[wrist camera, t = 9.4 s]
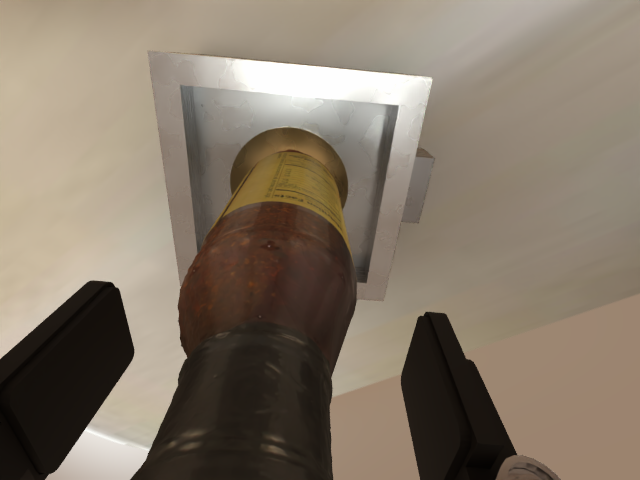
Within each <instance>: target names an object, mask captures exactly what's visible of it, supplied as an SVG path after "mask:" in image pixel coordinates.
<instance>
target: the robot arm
mask: <svg viewBox="0 0 640 480" xmlns="http://www.w3.org/2000/svg"><path fill="white" fill-rule="evenodd" d="M133 356H134V346H133V342H132V338H131V334H130V330H129V326H128V322H127V318H126V314H125V310H124V306H123V302H122V298H121V294H120V291H119V289H118V288H116V287H115V286H114V284H113V283H111V282H103V281H89V282H87V283H86V284H85V285H84V286H83V287H82V288H80V289H79V290H78V291H77V292H76V293H75V294H74V295H72V296H71V297H70V298H69V299H68V300H67V301H66V302H65V303H63V304H62V305H61V306H60V307H59V308H58V309H57V310H55V311H54V312H53V313H52V314H51V315H50V316H49V317H48V318H46V319H45V320H44V321H43V322H42V323H41V324H40V325H38V326H37V327H36V328H35V329H34V330H33V331H32V332H31V333H29V334H28V335H27V336H26V337H25V338H24V339H23V340H21V341H20V342H19V343H18V344H17V345H16V346H15V347H14V348H12V349H11V350H10V351H9V352H8V353H7V354H6V355H4V356H3V357H2V358H1V359H0V480H45V479H46V477H47V476H48V475H49V474H51V473H53V472H55V471H56V470H57V469H58V468H59V466H60V465H61V463H62V462H63V461H64V459H65V458H66V456H67V454H68V453H69V452H70V450H71V449H72V447H73V446H74V445H75V443H76V442H77V440H78V439H79V437H80V436H81V434H82V433H83V431H84V430H85V428H86V427H87V426H88V424H89V423H90V421H91V420H92V418H93V417H94V415H95V414H96V412H97V411H98V410H99V408H100V407H101V405H102V404H103V402H104V401H105V399H106V398H107V396H108V395H109V393H110V392H111V391H112V389H113V388H114V386H115V385H116V383H117V382H118V380H119V379H120V377H121V376H122V374H123V373H124V372H125V370H126V369H127V367H128V366H129V364H130V363H131V361H132V359H133ZM401 386H402V392H403V397H404V402H405V407H406V411H407V416H408V422H409V427H410V432H411V436H412V441H413V446H414V451H415V456H416V461H417V466H418V470H419V476H420V480H561V479H560V478H559V477H558V476H557V475H556V474H555V473H554V472H553V471H552V470H550V469H549V468H548V467H547V466H545V465H544V464H542V463H540V462H539V461H537V460H535V459H533V458H530V457H527V456H523V455H517V453H516V451H515V449H514V447H513V445H512V443H511V440H510V439H509V436H508V434H507V432H506V430H505V428H504V425H503V423H502V421H501V419H500V417H499V415H498V412H497V410H496V408H495V406H494V404H493V402H492V399H491V397H490V395H489V393H488V391H487V389H486V387H485V384H484V382H483V380H482V378H481V376H480V374H479V371H478V370H477V367H476V366H475V364H474V362H472V361H471V360H468V359H466V358H465V355H464V353H463V351H462V349H461V346H460V344H459V342H458V340H457V337H456V335H455V333H454V330H453V328H452V326H451V324H450V321H449V319H448V317H447V315H446V314H444V313H434V312H426V313H425V314H424V316H419V317H418V320H417V323H416V327H415V330H414V333H413V337H412V340H411V344H410V347H409V351H408V354H407V357H406V361H405V364H404V368H403V371H402V375H401Z"/></svg>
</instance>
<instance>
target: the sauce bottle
mask: <svg viewBox="0 0 640 480" xmlns="http://www.w3.org/2000/svg"><path fill="white" fill-rule="evenodd" d="M356 300H357V279H356V273H355V267H354V263H353V259H352V254H351V250H350V245H349V240H348V236H347V231H346V226H345V221H344V216H343V212H342V207H341V201H340V197H339V192H338V188H337V185H336V182H335V180H334V178H333V177H332V175H331V174H330V172H329V171H328V169H327V168H326V167H325V166H324V165H323V164H322V163H321V162H320V161H318V160H317V159H315V158H313V157H312V156H310V155H308V154H304V153H302V152H299V151H297V150H291V149H288V150H286V151H280V152H277V153H274V154H271V155H269V156H267V157H265V158H263V159H262V160H260V161H258V162H257V164H256V165H255V166H254V167H252V168H251V169H250V171H249V172H248V173H247V175H246V176H245V177H244V179H243V180H242V182H241V183H240V185H239V186H238V188H237V190H236V191H235V192H234V194H233V195H232V197H231V199H230V200H229V202H228V203H227V205H226V206H225V208H224V210H223V211H222V212H221V214H220V215H219V217H218V218H217V220H216V221H215V223H214V225H213V226H212V228H211V229H210V231H209V232H208V234H207V236H206V237H205V239H204V241H203V243H202V246H201V249H200V252H199V253H198V254H197V255H196V256H195V259H194V261H193V263H192V264H191V266H190V267H189V268H188V272H187V274H186V276H185V278H184V281H183V283H182V286H181V289H180V297H179V302H178V310H179V320H178V321H179V326H180V340H181V346H182V347H183V349H184V352H185V353H186V355H187V359H186V360H185V362H184V364H183V366H182V368H181V371H180V373H179V378H178V387H177V389H176V391H175V393H174V396H173V399H172V402H171V404H170V406H169V408H168V411H167V413H166V415H165V418H164V420H163V422H162V424H161V426H160V428H159V431H158V434H157V436H156V438H155V440H154V442H153V444H152V447H151V449H150V451H149V453H148V456H147V459H146V461H145V462H144V463H143V465H142V466H141V468H140V469H139V470H138V471H137V472H136V473H135V474H134V476H133V477H132V478H131V479H130V480H333V473H332V456H331V432H330V428H331V427H330V410H329V409H330V403H331V398H332V380H331V377H332V374H333V371H334V368H335V365H336V362H337V359H338V356H339V353H340V350H341V347H342V345H343V342H344V339H345V336H346V333H347V330H348V327H349V324H350V321H351V319H352V317H353V314H354V311H355V306H356Z"/></svg>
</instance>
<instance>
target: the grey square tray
mask: <svg viewBox="0 0 640 480" xmlns="http://www.w3.org/2000/svg"><path fill="white" fill-rule="evenodd" d="M148 58H149V66H150V73H151V80H152V87H153V94H154V101H155V108H156V116H157V123H158V130H159V137H160V144H161V151H162V159H163V166H164V173H165V180H166V187H167V194H168V201H169V209H170V216H171V223H172V230H173V237H174V244H175V251H176V259H177V266H178V273H179V280H180V286H182V283H183V281H184V278H185V276H186V274H187V272H188V268H189V267H190V266H191V264H192V263H193V261H194V259H195V256H196V255H197V254H198V253H199V252H200V249H201V246H202V243H203V241H204V239H205V237H206V236H207V234H208V232H209V231H210V229H211V228H212V226H213V225H214V223H215V221H216V220H217V218H218V217H219V215H220V214H221V212H222V211H223V210H224V208H225V206H226V205H227V203H228V202H229V200H230V199H231V197H232V195H233V194H234V192H235V191H236V190H237V188H238V186H239V185H240V183H241V182H242V180H243V179H244V177H245V176H246V175H247V173H248V172H249V171H250V169H251V168H252V167H254V166H255V165H256V164H257V162H258V161H260V160H262V159H263V158H265V157H267V156H269V155H271V154H274V153H277V152H280V151H286V150H288V149H291V150H297V151H299V152H302V153H304V154H308V155H310V156H312V157H313V158H315V159H317V160H318V161H320V162H321V163H322V164H323V165H324V166H325V167H326V168H327V169H328V171H329V172H330V174H331V175H332V177H333V178H334V180H335V182H336V185H337V188H338V192H339V197H340V201H341V207H342V212H343V216H344V221H345V226H346V231H347V236H348V240H349V245H350V250H351V254H352V259H353V263H354V267H355V273H356V279H357V299H361V300H375V301H384V297H385V292H386V288H387V283H388V279H389V274H390V270H391V265H392V260H393V256H394V251H395V247H396V242H397V238H398V233H399V229H400V224H401V222H410V223H419V220H420V216H421V212H422V208H423V204H424V200H425V196H426V191H427V187H428V183H429V179H430V175H431V171H432V167H433V163H434V159H435V158H434V157H432V156H431V155H430V154H429V153H428V152H427V151H425V150H424V149H421V148H417V147H418V142H419V138H420V133H421V129H422V124H423V120H424V115H425V111H426V106H427V101H428V97H429V92H430V88H431V83H432V79H433V78H431V77H423V76H416V75H408V74H400V73H390V72H379V71H369V70H358V69H348V68H337V67H327V66H316V65H306V64H296V63H285V62H275V61H264V60H254V59H243V58H233V57H222V56H212V55H201V54H188V53H175V52H161V51H148Z"/></svg>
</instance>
